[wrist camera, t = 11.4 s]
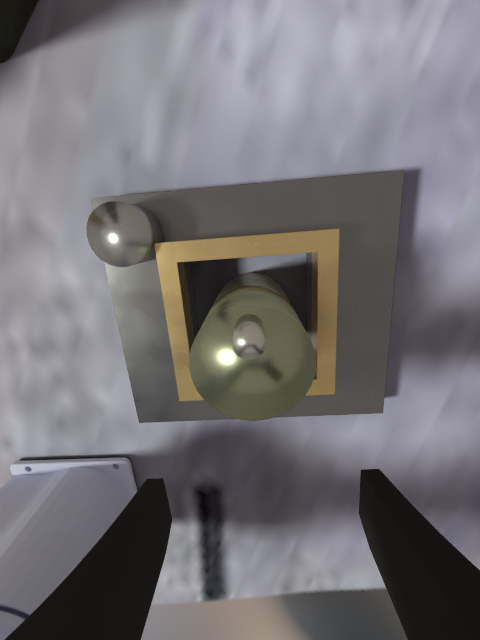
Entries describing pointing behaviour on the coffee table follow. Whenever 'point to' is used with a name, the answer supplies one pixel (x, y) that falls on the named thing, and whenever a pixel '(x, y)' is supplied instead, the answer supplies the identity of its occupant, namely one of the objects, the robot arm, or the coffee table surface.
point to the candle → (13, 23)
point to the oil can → (252, 351)
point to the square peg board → (250, 241)
